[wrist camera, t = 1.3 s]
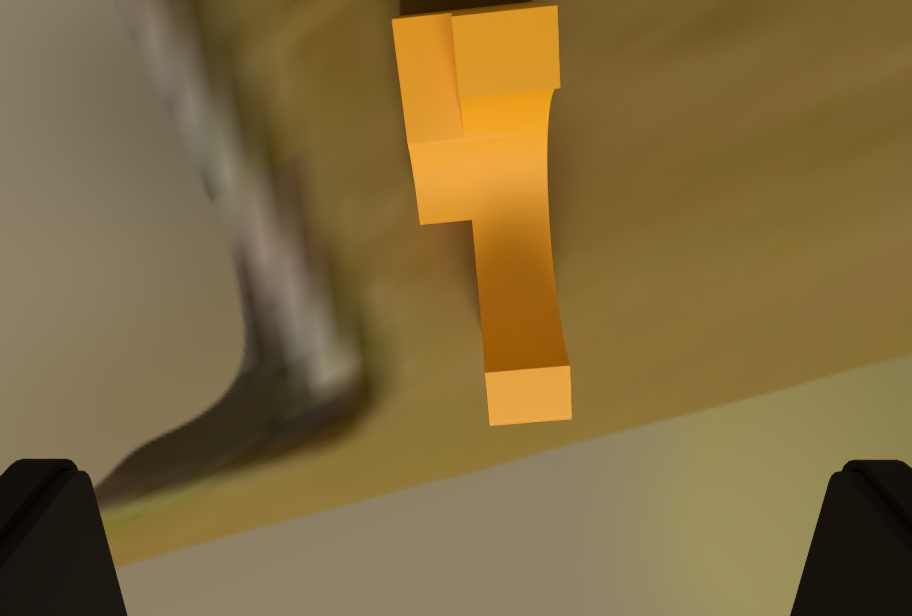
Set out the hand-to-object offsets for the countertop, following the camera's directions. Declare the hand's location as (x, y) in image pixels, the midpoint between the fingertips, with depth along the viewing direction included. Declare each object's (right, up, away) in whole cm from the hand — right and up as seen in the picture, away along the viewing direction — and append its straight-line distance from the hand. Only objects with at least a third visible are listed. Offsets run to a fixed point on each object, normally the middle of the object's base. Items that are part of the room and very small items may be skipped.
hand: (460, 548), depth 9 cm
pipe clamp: (+1, +8, +16) cm, 18 cm away
